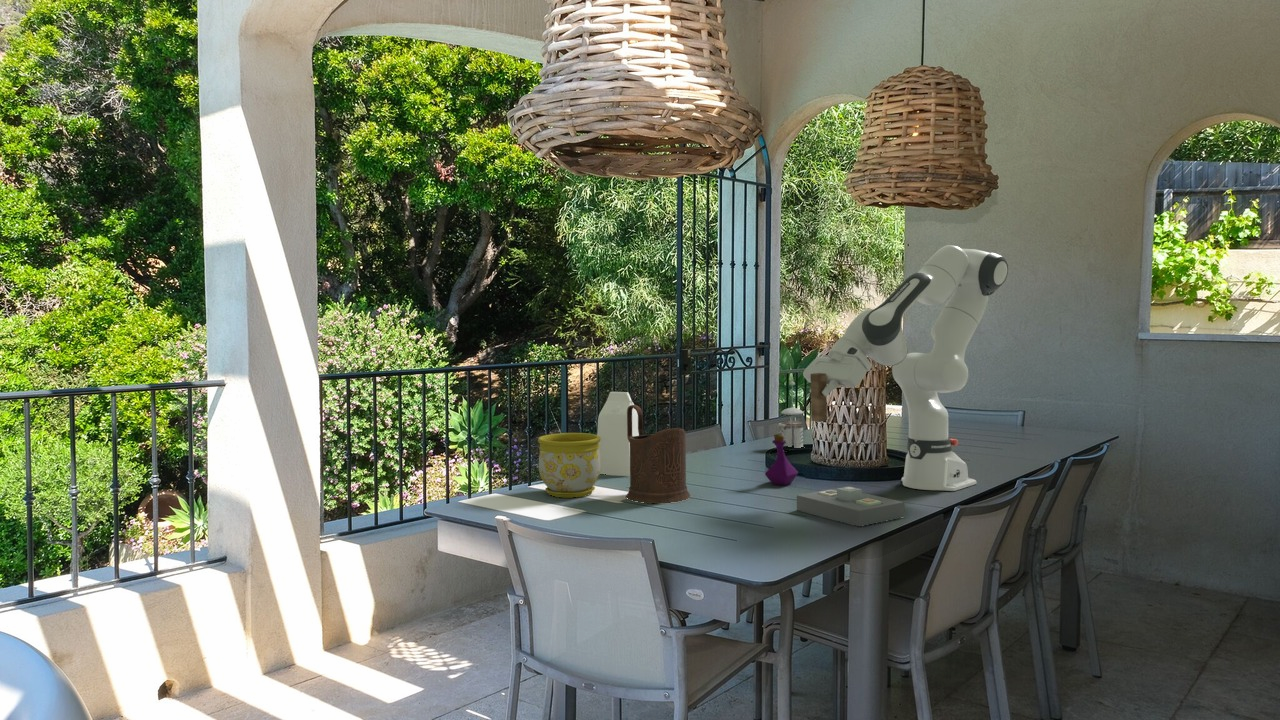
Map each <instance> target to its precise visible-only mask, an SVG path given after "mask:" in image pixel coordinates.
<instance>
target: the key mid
mask: <svg viewBox="0 0 1280 720" xmlns="http://www.w3.org/2000/svg"><path fill="white" fill-rule="evenodd" d="M837 488H838V489H837V499H841V500H845V501H849V502H851V501H856V500H861V499H862V493H863V491H862V488H857V487H853V486H844V487H837Z"/></svg>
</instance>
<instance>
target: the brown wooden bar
mask: <svg viewBox="0 0 1280 720" xmlns="http://www.w3.org/2000/svg"><path fill="white" fill-rule="evenodd" d="M826 386H827V385H826V374H825V373H813V374H811V383H810V389H811V393H810V411H811V412H810V414H811V415H810V416H811V418H810V419H811V420H810V421H811V422H817V423H820V422H827V421H828V407H827V405H828V403H827V402H828V401H827V399H828V398H827V397H828V396H822V394H820V391H821V390H822V388H825V387H826Z"/></svg>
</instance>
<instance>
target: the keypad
mask: <svg viewBox="0 0 1280 720" xmlns="http://www.w3.org/2000/svg"><path fill="white" fill-rule="evenodd" d="M838 488H839V487H836V488H831V489H826V490H825V489H824V490H819V491H814V492H808V493H807V492H806V493H802V494H796V511H799V512H803V513H806V514H809V515H814V516H817V517H820V518H824V519H827V520H828V519H829V520H832V521H835V520H836V522H839V521H840V522H839V523H843V522H844V523H843V524H846V523H848V524H847V525H850V524H853V525H852V526H854V525H857V526H862V525H867V524H872V523H876V522H881V523H884V522H883V521H886V520H891V519H896V518H900V519H902V518H901V517H904V518H905V501H901V500H897V499H892V498H888V497H887V498H886V497H882V496H880V495H879V496H878V495H875V494H869V493H865V492H862V499H867V498H869V499H873V500H878V501H881V504H879V505H874V506H865V505H861V504H857V503H856V501H851V502H849V501H845V500H841V499H837V496H835V497H828V496H824V495H820V494H819V492H822V491H828V490H833V491H837V489H838ZM896 520H897V519H896ZM891 521H892V520H891ZM886 522H887V521H886ZM876 524H877V523H876ZM872 525H873V524H872ZM857 526H856V527H857ZM867 526H868V525H867ZM862 527H863V526H862Z"/></svg>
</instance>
